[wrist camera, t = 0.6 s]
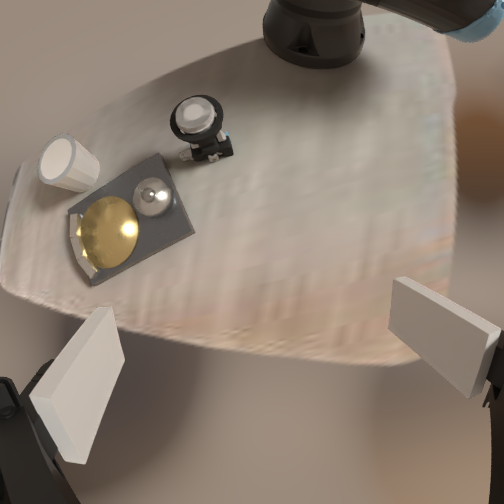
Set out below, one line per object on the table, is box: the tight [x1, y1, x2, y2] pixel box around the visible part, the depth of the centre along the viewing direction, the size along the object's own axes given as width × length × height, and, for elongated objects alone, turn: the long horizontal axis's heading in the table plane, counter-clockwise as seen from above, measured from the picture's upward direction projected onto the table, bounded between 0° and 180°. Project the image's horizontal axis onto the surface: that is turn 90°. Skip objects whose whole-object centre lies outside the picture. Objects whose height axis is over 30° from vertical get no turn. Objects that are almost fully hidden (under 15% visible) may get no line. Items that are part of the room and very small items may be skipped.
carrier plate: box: [68, 153, 195, 285], centre depth 35 cm, size 15×11×4 cm
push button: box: [170, 95, 234, 162], centre depth 32 cm, size 7×5×10 cm
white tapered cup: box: [37, 134, 100, 193], centre depth 35 cm, size 7×7×7 cm
